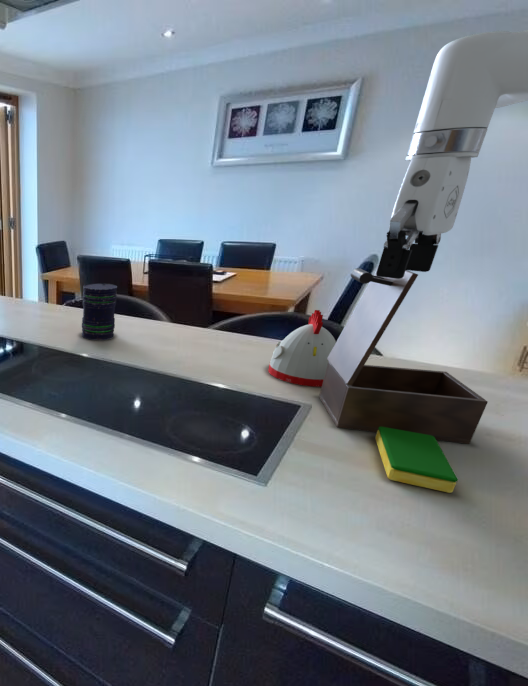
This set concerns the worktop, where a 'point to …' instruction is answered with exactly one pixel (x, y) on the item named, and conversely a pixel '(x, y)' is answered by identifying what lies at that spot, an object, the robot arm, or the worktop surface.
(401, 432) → the dish sponge
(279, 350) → the kitchen timer
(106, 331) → the black striped canister
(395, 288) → the lid
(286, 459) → the worktop surface
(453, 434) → the chest
